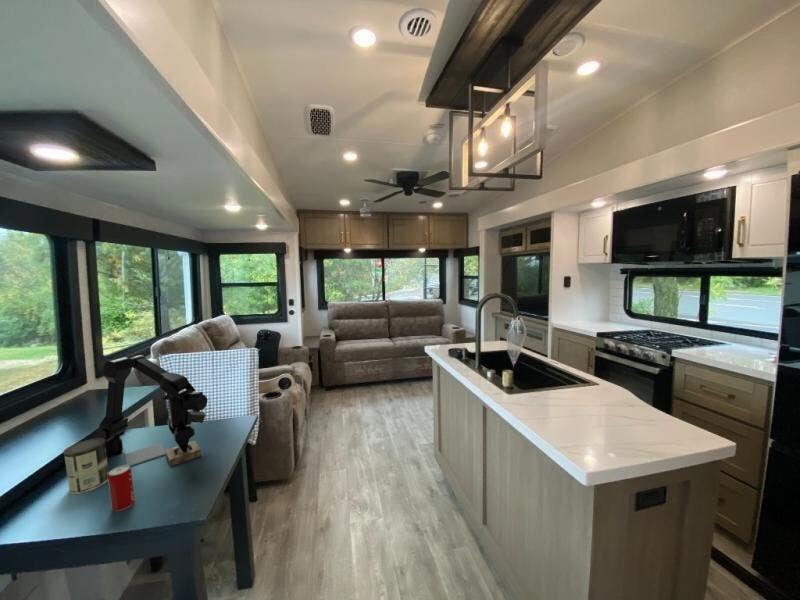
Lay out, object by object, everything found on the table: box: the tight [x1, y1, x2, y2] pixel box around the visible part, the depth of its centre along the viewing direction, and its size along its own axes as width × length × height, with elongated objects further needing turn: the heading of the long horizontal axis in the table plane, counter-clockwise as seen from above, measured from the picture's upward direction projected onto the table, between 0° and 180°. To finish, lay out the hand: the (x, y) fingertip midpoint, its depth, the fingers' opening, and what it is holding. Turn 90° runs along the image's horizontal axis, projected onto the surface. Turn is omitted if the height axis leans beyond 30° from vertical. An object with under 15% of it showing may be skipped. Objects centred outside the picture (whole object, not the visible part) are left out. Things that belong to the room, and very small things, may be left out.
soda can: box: [107, 464, 136, 512], centre depth 101 cm, size 6×6×12 cm
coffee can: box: [62, 438, 110, 495], centre depth 112 cm, size 10×10×14 cm
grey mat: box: [124, 442, 166, 468], centre depth 130 cm, size 12×12×1 cm
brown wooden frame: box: [165, 440, 202, 467], centre depth 129 cm, size 10×10×2 cm
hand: (182, 447), depth 129 cm, fingers open, 9 cm apart
